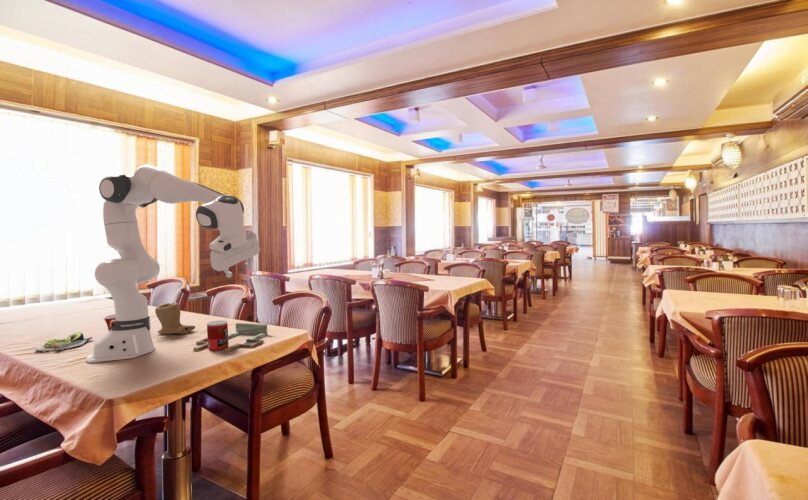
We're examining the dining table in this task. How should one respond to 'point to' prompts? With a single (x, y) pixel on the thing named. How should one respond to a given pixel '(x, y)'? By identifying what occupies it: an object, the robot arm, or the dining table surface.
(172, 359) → the dining table surface
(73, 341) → the salad plate
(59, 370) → the dining table surface
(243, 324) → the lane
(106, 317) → the plastic cup
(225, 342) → the canned food
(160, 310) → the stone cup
